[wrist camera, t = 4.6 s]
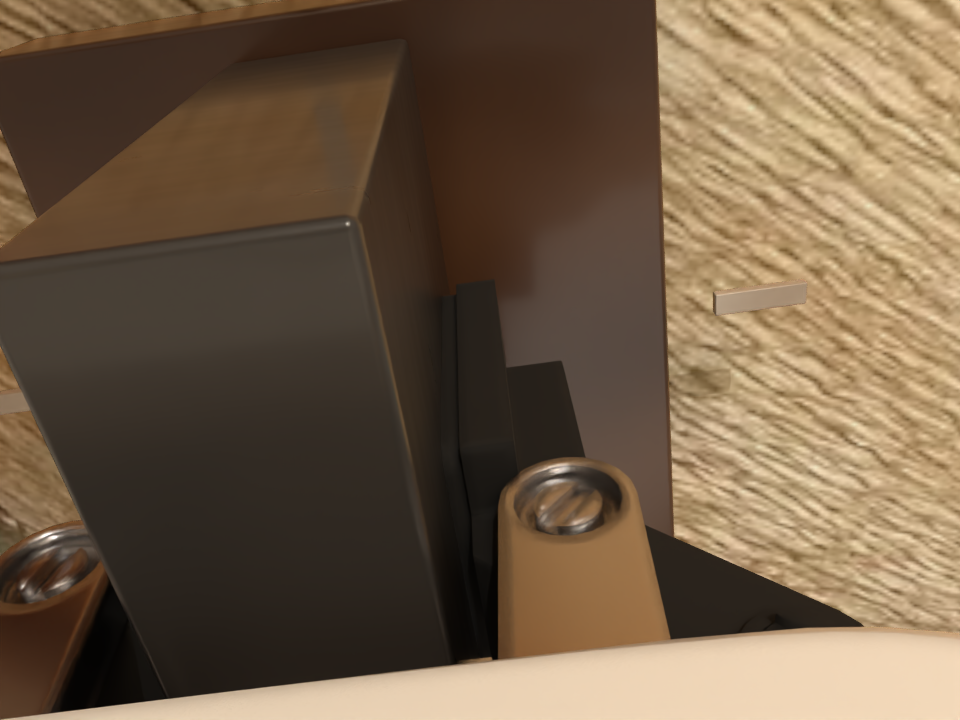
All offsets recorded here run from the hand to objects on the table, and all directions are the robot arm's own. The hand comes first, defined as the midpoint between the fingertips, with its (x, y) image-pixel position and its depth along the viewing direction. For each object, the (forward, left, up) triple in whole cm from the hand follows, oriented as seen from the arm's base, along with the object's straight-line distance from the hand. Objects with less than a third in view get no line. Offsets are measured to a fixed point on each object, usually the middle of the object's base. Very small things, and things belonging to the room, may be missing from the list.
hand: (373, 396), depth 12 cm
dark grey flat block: (0, 0, -2) cm, 2 cm away
